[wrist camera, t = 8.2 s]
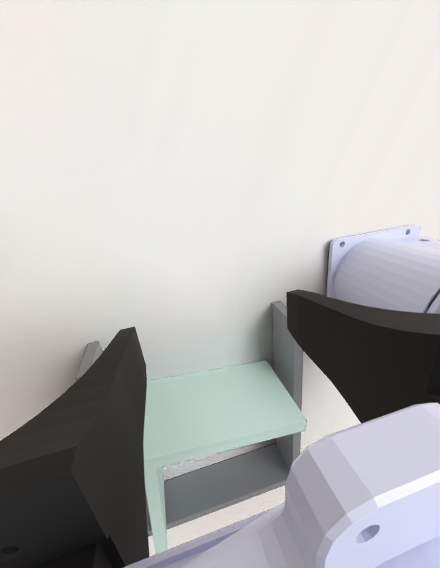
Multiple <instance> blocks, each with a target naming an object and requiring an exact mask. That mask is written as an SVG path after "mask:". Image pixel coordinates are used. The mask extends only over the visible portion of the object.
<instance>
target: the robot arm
mask: <svg viewBox="0 0 440 568" xmlns="http://www.w3.org/2000/svg"><path fill="white" fill-rule="evenodd" d="M420 231H421V227H420V226H419V225H410V226H404V227H399V228H393V229H388V230H382V231H376V232H371V233H365V234H360V235H354V236H349V237H343V238H338V239H334V240H332V241H331V243H330V249H329V265H328V280H327V296H324V295H320V294H316V293H312V292H308V291H304V290H294V291H290V292H287V329H288V330H289V332H290V333H291V335H292V337H293V338H294V339H295V341H296V342H297V344H298V345H299V346H300V347H301V348H302V350H303V351H304V352H305V353H306V354H307V355H308V356H309V357H310V358H311V360H312V361H313V362H314V363H315V364H316V365H317V366H318V367H319V368H320V369H321V370H322V372H323V373H324V374H325V375H326V376H327V377H328V378H329V379H330V381H331V382H332V383H333V384H334V386H335V387H336V388H337V390H338V391H339V392H340V394H341V395H342V396H343V398H344V399H345V400H346V402H347V403H348V405H349V406H350V408H351V409H352V410H353V412H354V413H355V415H356V416H357V418H358V419H359V421H360V422H361V424H359V425H356V426H353V427H350V428H348V429H345V430H342V431H339V432H336V433H333V434H331V435H328V436H326V437H324V438H322V439H320V440H319V441H317V442H315V443H313V444H311V445H309V446H308V447H306V449H305V450H304V451H303V452H302V453H301V454H300V455H299V456H298V457H297V458H296V459H295V460H294V461H293V463H292V465H291V468H290V471H289V475H288V478H287V481H286V484H285V499H286V501H285V502H284V503H282V504H280V505H279V506H277V507H274V508H272V509H269V510H267V511H264V512H262V513H259V514H257V515H254V516H252V517H249V518H247V519H244V520H242V521H239V522H237V523H234V524H231V525H229V526H226V527H224V528H221V529H219V530H216V531H214V532H211V533H209V534H206V535H204V536H201V537H199V538H196V539H194V540H191V541H189V542H186V543H184V544H181V545H179V546H176V547H174V548H171V549H169V550H166V551H163V552H161V553H158V554H156V555H153V556H151V557H149V546H148V531H147V514H146V497H145V476H144V449H143V440H144V421H145V407H146V391H147V378H146V364H145V361H144V357H143V354H142V350H141V347H140V343H139V340H138V336H137V333H136V329H135V327H131V328H127V329H122V330H120V331H119V332H118V333H117V335H116V336H115V337H114V339H113V340H112V341H111V343H110V344H109V345H108V346H107V348H106V349H105V350H104V351H103V353H102V354H101V355H100V356H99V358H98V359H97V360H96V361H95V362H94V363H93V364H92V366H91V367H90V368H89V369H88V370H87V371H86V372H85V373H84V374H83V375H82V376H81V378H80V379H79V380H78V381H76V382H75V383H74V384H73V385H72V386H71V387H70V388H69V389H68V390H67V391H66V392H65V393H64V394H62V395H61V396H60V397H59V398H58V399H56V400H55V401H54V402H53V403H52V404H50V405H49V406H48V407H47V408H45V409H44V410H43V411H42V412H40V413H39V414H38V415H37V416H35V417H34V418H33V419H31V420H30V421H28V422H27V423H26V424H24V425H23V426H22V427H20V428H19V429H17V430H16V431H14V432H13V433H11V434H10V435H9V436H7V437H6V438H4V439H3V440H1V441H0V568H440V240H437V239H432V238H427V237H422V236H420ZM341 242H342V244H341V246H340V243H341Z"/></svg>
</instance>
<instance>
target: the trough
mask: <svg viewBox="0 0 440 568" xmlns="http://www.w3.org/2000/svg"><path fill="white" fill-rule="evenodd" d="M272 322H273V359H274V372H275V374H276V375H277V377H278V378H279V380H280V381H281V383H282V384H283V385H284V387H285V388H286V390H287V391H288V393H289V394H290V396H291V397H292V399H293V400H294V402H295V403H296V405H297V406H298V408H299V409H300V411H301V404H302V367H303V350H302V348H301V347H300V346H299V345H298V344H297V342H296V341H295V339H294V338H293V337H292V335H291V333H290V332H289V330H288V329H287V307H286V306H285V305H284V304H283V303H282V302H281V301H277V302H273V303H272ZM102 353H103V352H102V349H101V346H100V344H99V341H98V342H94V343H89V344H88V345H87V348H86V351H85V354H84V357H83V359H82V362H81V365H80V368H79V371H78V373H77V376H76V380H77V381H78V380H79V379H80V378H81V376H82V375H83V374H84V373H85V372H86V371H87V370H88V369H89V368H90V367H91V366H92V364H93V363H94V362H95V361H96V360H97V359H98V358H99V356H100V355H101V354H102ZM300 440H301V432H297V433H293V434H289V435H286V436H282V437H278V438H276V443H275V444H272V445H269V446H266V447H263V448H260V449H257V450H254V451H251V452H248V453H245V454H243V455H240V456H237V457H234V458H231V459H228V460H225V461H222V462H219V463H216V464H213V465H210V466H207V467H204V468H201V469H198V470H196V471H193V472H190V473H187V474H184V475H181V476H178V477H175V478H172V479H169V480H166V481H164V497H165V514H166V530H167V529H170V528H172V527H175V526H178V525H180V524H183V523H186V522H188V521H191V520H194V519H196V518H199V517H202V516H204V515H207V514H209V513H212V512H215V511H217V510H220V509H223V508H225V507H228V506H231V505H233V504H236V503H239V502H241V501H244V500H247V499H249V498H252V497H254V496H257V495H260V494H262V493H265V492H268V491H270V490H273V489H276V488H278V487H281V486H284V485H285V484H286V481H287V478H288V475H289V471H290V468H291V465H292V463H293V461H294V460H295V459H296V458H297V457H298V456H299V455H300ZM145 497H146V514H147V531H148V537H149V536H151V535H153V533H152V527H151V521H150V514H149V508H148V502H147V496H146V490H145Z"/></svg>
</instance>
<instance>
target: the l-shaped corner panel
mask: <svg viewBox="0 0 440 568" xmlns="http://www.w3.org/2000/svg"><path fill="white" fill-rule="evenodd" d="M306 423H307V420H306V418H305V417H304V415H303V414H302V412H301V411H300V409H299V408H298V406H297V405H296V403H295V402H294V400H293V399H292V397H291V396H290V394H289V393H288V391H287V390H286V388H285V387H284V385H283V384H282V383H281V381H280V380H279V378H278V377H277V375H276V374H275V372H274V371H273V369H272V368H271V366H270V365H269V363H268V362H267V360H264V361H258V362H253V363H247V364H241V365H235V366H230V367H224V368H218V369H212V370H207V371H201V372H195V373H189V374H184V375H178V376H172V377H167V378H161V379H155V380H149V381H147V391H146V407H145V421H144V440H143V449H144V476H145V490H146V496H147V502H148V508H149V514H150V521H151V527H152V533H153V539H154V545H155V552H156V554H158V553H161V552H163V551H166V550H168V548H167V531H166V514H165V497H164V480H163V467H164V466H168V465H172V464H176V463H180V462H184V461H188V460H192V459H195V461H197V460H200V459H202V458H204V457H207V458H208V457H210V456H211V454H215V453H217V454H220V453H221V452H223V451H227V450H231V449H235V448H239V447H242V446H246V445H250V444H254V443H258V442H262V441H266V440H270V439H274V438H278V437H282V436H286V435H289V434H293V433H297V432H301V431H305V429H306Z"/></svg>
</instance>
